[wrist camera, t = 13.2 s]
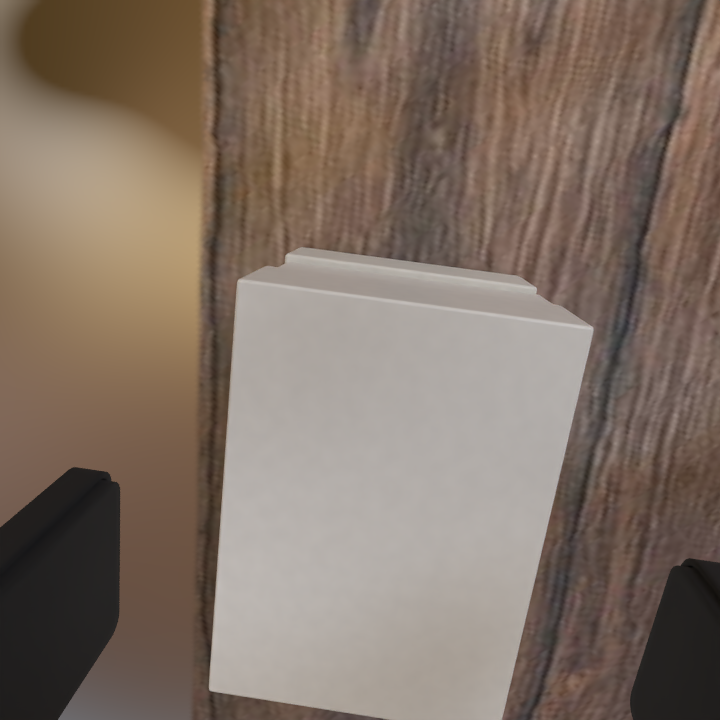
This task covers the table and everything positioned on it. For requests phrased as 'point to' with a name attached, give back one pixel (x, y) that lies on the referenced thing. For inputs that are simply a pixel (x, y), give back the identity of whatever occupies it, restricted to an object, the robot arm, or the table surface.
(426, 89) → the table surface
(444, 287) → the white books
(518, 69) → the table surface
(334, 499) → the off-white flat block
